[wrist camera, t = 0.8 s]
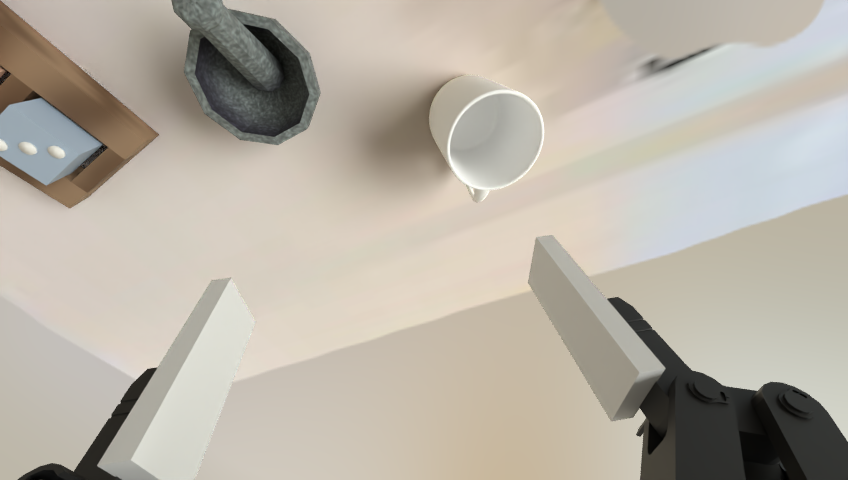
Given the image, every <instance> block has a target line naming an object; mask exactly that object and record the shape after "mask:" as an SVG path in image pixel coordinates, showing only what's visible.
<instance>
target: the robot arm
mask: <svg viewBox="0 0 848 480" xmlns="http://www.w3.org/2000/svg"><path fill="white" fill-rule="evenodd" d="M528 283H529V285H530V287H531V289H532V290H533V292H534V293H535V295H536V297H537V299H538V300H539V302H540V304H541V305H542V307H543V309H544V310H545V312H546V313H547V315H548V317H549V319H550V320H551V322H552V323H553V325H554V327H555V328H556V330H557V332H558V333H559V335H560V336H561V339H562V340H563V342H564V343H565V345H566V347H567V349H568V350H569V352H570V353H571V355H572V357H573V358H574V360H575V362H576V364H577V365H578V367H579V369H580V370H581V372H582V374H583V375H584V377H585V378H586V380H587V382H588V384H589V385H590V387H591V389H592V390H593V392H594V394H595V395H596V397H597V399H598V400H599V402H600V404H601V405H602V407H603V408H604V410H605V412H606V414H607V415H608V417H609V419H610V420H611V421H616V420H621V419H627V418H632V417H634V416H635V414H636V412H637V411H638V410H639V408H640V409H641V410H642V412H643V413H644V414H645V416H646V419H645V421H644V422H643V424H642V425H641V426H640V428H639V429H638V432H637V434H636V435H637V436H641V435H642V434H643V432H644V434H643V448H642V463H641V476H640V480H848V442H847V440H846V439H845V437H844V436H843V434H842V433H841V431H840V430H839V428H838V427H837V425H836V424H835V422H834V421H833V419H832V418H831V416H830V415H829V413H828V412H827V411H826V410H825V409H824V408H823V406H822V405H821V404H820V403H819V402H817V401H816V400H815V399H814V398H812V397H811V396H810V395H808V394H807V393H805V392H803V391H801V390H799V389H797V388H795V387H793V386H790V385H787V384H784V383H779V382H770V383H767V384H764V385H763V386H762V387H761V388H760V389H759V390H758V391H754V390H747V389H740V388H733V387H726V386H723V385H721V384H720V383H718V382H717V381H716V380H715V379H713V378H711V377H709V376H707V375H705V374H703V373H700V372H696V371H692V370H691V369H690V368H689V367H688V366H687V365H686V364H685V363H684V362H683V361H682V360H681V359H680V358H679V357H678V355H677V354H676V353H675V352H674V351H673V350H672V349H671V348H670V347H669V346H668V345H667V343H666V342H665V341H664V340H663V339H662V338H661V337H660V336H659V335H658V334H657V333H656V331H655V330H652V327H651V326H650V325H649V324H648V323H647V322H646V321H645V320H643V318H642V316H641V315H640V314H639V313H638V312H637V311H636V310H635V309H634V307H633V306H631V305H630V304H628V303H626V302H625V301H623V300H622V299H620V298H618V297H615V298H609V299H606V297H605V296H604V295H603V294H602V293H601V292H600V291H599V289H598V288H597V287H596V286H595V285H594V283H593V282H592V281H591V280H590V279H589V277H588V276H587V275H586V274H585V273H584V272H583V270H582V269H581V268H580V267H579V266H578V264H577V263H576V262H575V261H574V260H573V259H572V257H571V256H570V255H569V254H568V253H567V251H566V250H565V249H564V248H563V247H562V246H561V244H560V243H559V242H558V241H557V240H556V239H555V237H554V236H553V235H549V236H541V237H536V240H535V246H534V252H533V257H532V263H531V269H530V274H529V280H528ZM255 323H256V321H255V320H254V318H253V316H252V314H251V313H250V311H249V309H248V307H247V305H246V304H245V302H244V300H243V298H242V296H241V295H240V293H239V291H238V289H237V288H236V286H235V284H234V282H233V280H232V279H231V278H226V279H218V280H212V281H211V282H210V284H209V286H208V287H207V289H206V291H205V292H204V294H203V295H202V297H201V299H200V300H199V302H198V303H197V305H196V307H195V308H194V310H193V311H192V313H191V315H190V316H189V318H188V320H187V321H186V323H185V324H184V326H183V328H182V329H181V331H180V332H179V334H178V336H177V337H176V339H175V341H174V342H173V344H172V345H171V347H170V349H169V350H168V352H167V353H166V355H165V357H164V358H163V360H162V362H161V363H160V365H159V366H158V367H157V368H151V369H147V370H146V371H145V372H144V373H143V374H142V375H141V376H140V377H139V378H138V379H137V380H136V381H135V382H134V383H133V384H132V385H131V386H130V388H129V389H128V391H127V392H126V394H125V395H124V397H123V398H122V400H121V404H119V405H118V406H117V407H116V409H115V410H114V412H113V413H112V417H111V418H110V419H108V421H107V422H106V424H105V425H104V427H103V428H102V430H101V431H100V433H99V434H98V436H97V437H96V439H95V441H94V442H93V444H92V445H91V446H90V448H89V449H88V451H87V452H86V454H85V456H84V457H83V458H82V460H81V461H80V463H79V464H78V466H77V467H76V469H75V470H74V472H73V471H71V470H69V469H67V468H66V467H64V466H62V465H59V464H53V463H51V464H47V465H44V466H40V467H38V468H36V469H34V470H32V471H30V472H28V473H26V474H25V475H23V476H22V477H21V478H19V479H18V480H195V478H196V475H197V473H198V470H199V467H200V465H201V462H202V460H203V456H204V455H205V452H206V449H207V447H208V444H209V441H210V439H211V436H212V434H213V431H214V429H215V426H216V423H217V421H218V418H219V415H220V413H221V411H222V408H223V405H224V403H225V400H226V398H227V395H228V392H229V390H230V387H231V385H232V382H233V380H234V377H235V374H236V372H237V369H238V367H239V364H240V362H241V359H242V356H243V354H244V351H245V349H246V346H247V343H248V341H249V338H250V336H251V333H252V330H253V328H254V325H255Z"/></svg>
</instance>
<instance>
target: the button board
mask: <svg viewBox="0 0 848 480" xmlns="http://www.w3.org/2000/svg"><path fill="white" fill-rule="evenodd" d="M0 66H2V67H3V68H4V69H6V70H7V71H8V72H10V73H11V75H10V76H9V77H8V78H7V79H6V80H5V81H4V82H3V83H2V85H1V86H0V114H1V113H2V112H3V111H4V110H5V109H6V108H7V107H8V106H9V105H11V104H15V103H20V102H25V101H29V100H34V99H39V98H42V99H45V100H47V101H48V102H49V103H51V104H52V105H53V106H55V107H56V108H57V109H59V110H60V111H61V112H63V113H64V114H65V115H66V116H68V117H69V118H70V119H72V120H73V121H74V122H76V123H77V124H78V125H80V126H81V127H82V128H84V129H85V130H86V131H88V132H89V133H90V134H92V135H93V136H94V137H96V138H97V139H98V140H99V141H101V142H102V143H103V144H105V145H106V146H107V147H108V148H107V149H106V150H105V151H104V152H103V153H102V154H100V155H99V156H98V157H97V158H96V159H95V160H94V161H93V162H92V163H91V164H90V165H88V166H87V167H86V168H85V169H84V168H82V167H81V166H79V167H78V168H77V169H76V170H75V171H74V172H72V173H71V174H69V175H67V176H65V177H63V178H61V179H59V180H57V181H55V182H53V183H51V184H49V185H47V186H46V185H45V184H43V183H41V182H40V181H38V180H37V179H35V178H34V177H32V176H30V175H29V174H27V173H26V172H24V171H22V170H21V169H19V168H18V167H16V166H15V165H13V164H11V163H10V162H8V161H7V160H5V159H4V158H2V157H0V166H2V167H4V168H5V169H7V170H9V171H10V172H12V173H13V174H15V175H17V176H18V177H20V178H21V179H23V180H25V181H26V182H28V183H29V184H31V185H33V186H34V187H36V188H37V189H39V190H41V191H42V192H44V193H45V194H47V195H49V196H50V197H52V198H54V199H55V200H57V201H58V202H60V203H62V204H63V205H65V206H66V207H68V208H71V207H73V206H75V205H76V204H78V203H79V202H81V201H83V200H84V199H86V198H88V197H89V196H90V195H91V194H92V193H93V192H94V191H96V190H97V189H98V188H99V187H100V186H101V185H102V184H104V183H105V182H106V181H107V180H108V179H109V178H110V177H112V176H113V175H114V174H115V173H116V172H117V171H118V170H120V169H121V168H122V167H123V166H124V165H125V164H126V163H127V162H129V161H130V160H131V159H132V158H133V157H134V156H135V155H137V154H138V153H139V152H140V151H141V150H142V149H143V148H145V147H146V146H147V145H148V144H149V143H150V142H151V141H152V140H154V139H155V138H156V137H157V136H158V135H159V134H157V133H156V132H155V131H154V130H153V129H152V128H150V127H149V126H148V125H147V124H146V123H144V122H143V121H142V120H141V119H140V118H139V117H137V116H136V115H135V114H134V113H133V112H131V111H130V110H129V109H128V108H127V107H126V106H124V105H123V104H122V103H121V102H120V101H118V100H117V99H116V98H115V97H114V96H113V95H111V94H110V93H109V92H108V91H107V90H105V89H104V88H103V87H102V86H101V85H100V84H98V83H97V82H96V81H95V80H94V79H92V78H91V77H90V76H89V75H88V74H87V73H85V72H84V71H83V70H82V69H81V68H79V67H78V66H77V65H76V64H75V63H74V62H72V61H71V60H70V59H69V58H68V57H66V56H65V55H64V54H63V53H62V52H61V51H59V50H58V49H57V48H56V47H55V46H53V45H52V44H51V43H50V42H49V41H48V40H46V39H45V38H44V37H43V36H42V35H40V34H39V33H38V32H37V31H36V30H35V29H33V28H32V27H31V26H30V25H29V24H27V23H26V22H25V21H24V20H23V19H22V18H20V17H19V16H18V15H17V14H16V13H14V12H13V11H12V10H11V9H10V8H8V7H7V6H6V5H5V4H4V3H3V2H1V1H0Z"/></svg>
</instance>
